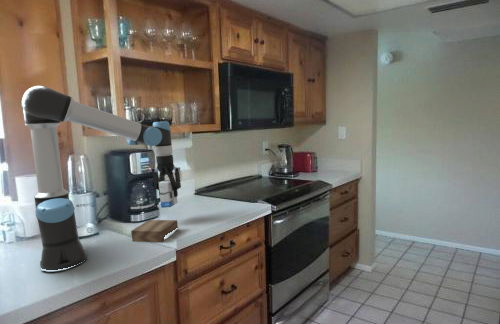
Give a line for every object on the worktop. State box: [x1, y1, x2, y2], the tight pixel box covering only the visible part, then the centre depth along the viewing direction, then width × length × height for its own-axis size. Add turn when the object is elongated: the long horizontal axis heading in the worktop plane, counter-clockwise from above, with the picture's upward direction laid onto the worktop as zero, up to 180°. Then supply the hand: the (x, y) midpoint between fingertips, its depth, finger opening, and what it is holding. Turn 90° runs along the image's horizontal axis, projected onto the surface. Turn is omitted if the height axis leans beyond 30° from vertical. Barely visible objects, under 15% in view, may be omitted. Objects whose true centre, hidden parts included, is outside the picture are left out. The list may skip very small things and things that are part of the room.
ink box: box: [158, 178, 178, 208], centre depth 159 cm, size 8×5×12 cm, turn 168°
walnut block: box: [130, 219, 179, 243], centre depth 146 cm, size 14×14×5 cm
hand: (169, 203), depth 160 cm, fingers closed on ink box, 5 cm apart
